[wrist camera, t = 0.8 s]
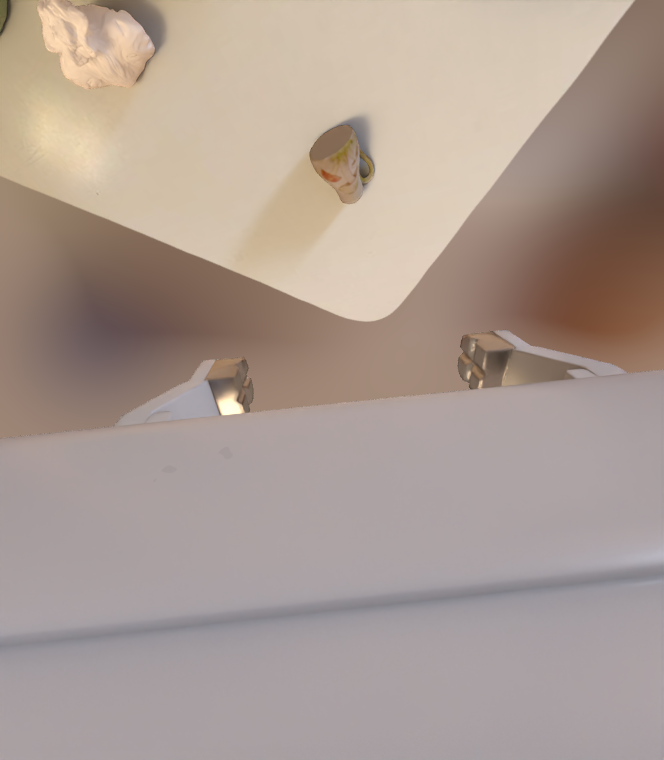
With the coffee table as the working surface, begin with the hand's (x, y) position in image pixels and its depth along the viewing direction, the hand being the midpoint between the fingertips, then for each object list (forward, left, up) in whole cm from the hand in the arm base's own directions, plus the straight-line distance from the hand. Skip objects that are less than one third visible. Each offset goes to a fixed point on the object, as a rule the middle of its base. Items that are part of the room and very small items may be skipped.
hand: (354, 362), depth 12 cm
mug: (+2, +4, -50) cm, 50 cm away
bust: (+11, -27, -50) cm, 58 cm away
